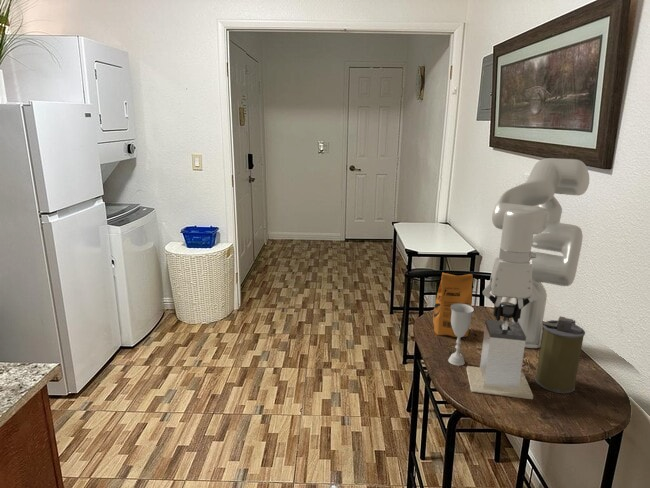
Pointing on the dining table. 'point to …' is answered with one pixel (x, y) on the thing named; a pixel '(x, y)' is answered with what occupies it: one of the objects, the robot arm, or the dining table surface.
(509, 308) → the plunger
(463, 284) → the coffee package
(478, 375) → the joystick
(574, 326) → the canister
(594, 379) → the dining table surface
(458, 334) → the chalice
